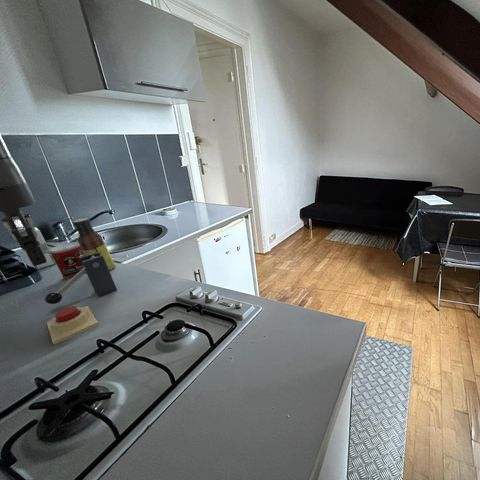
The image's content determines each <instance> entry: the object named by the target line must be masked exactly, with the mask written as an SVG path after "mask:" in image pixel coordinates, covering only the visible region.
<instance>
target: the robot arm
mask: <svg viewBox="0 0 480 480" xmlns="http://www.w3.org/2000/svg"><path fill="white" fill-rule="evenodd" d="M34 204H36V199H35V197H34V195H33V193H32V191H31V189H30V187H29V185H28V183H27V181H26V178H25V177H24V175H23V173H22V171H21V169H20V167H19V166H18V165H17V163H16V162H15V160H14V158H13V157H12V155H11V153H10V151H9V149H8V146H7V145H6V143H5V141H4V139H3V136H2V132H1V131H0V212H1V213H3V215H4V216H5V217H1V218H0V219H1V220H0V221H1V223H2V226H3V227H4V229H6V230H7V231H8V232H9V234H10V235H11V237H12V239H13V241H15V242H18V244H19V245H20V246H19V247H20V249H22V250H23V251H24V250H25V251H26V252H25V251H24V252H25V254H26V253H27V254H26V256H27V255H28V256H27V258H28V257H29V258H28V260H29V259H30V260H31V262H32V263H31V262H30V263H31V265H32V264H33V265H39V264H43V263H46V262H47V260H46V258H45V256H44V254H43V252H42V250H41V248H40V243H39V241H37V236H38V234H37V232H36V230H35V226H34V225H33V224H34V221H33V219H32V217H31V216H30V215H31V214H30V213H23V211H22V210H21V209H22V208H25V207H26V208H27V207H29V206H32V205H34ZM30 260H29V261H30ZM33 265H32V266H33Z"/></svg>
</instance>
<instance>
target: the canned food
mask: <svg viewBox="0 0 480 480" xmlns="http://www.w3.org/2000/svg"><path fill="white" fill-rule="evenodd" d="M49 250H50V253H51V255H52V257H53V259H54V261H55V262H56V264H55V265H56V267H57V269H58V270H59V272H60V274H61V276H62V278H63V279H64V280H65V281H69V280H71V279H72V278H73V277H74V276H75V275H76V274H77V273H78V272H79V271H81V270H82V269H83V268H84V267H83V265H82V262H81V260H80V258H79V257H82V256H85V255H84V253H83V251H82V248H81V246H80V244H79V243H78V241H70V242H66V243H62V244H58V245H55V246H53V247H52V248H49ZM84 275H87V273H85V274H84Z"/></svg>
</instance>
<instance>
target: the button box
mask: <svg viewBox="0 0 480 480" xmlns="http://www.w3.org/2000/svg"><path fill="white" fill-rule="evenodd" d="M77 308H78V310H79V312H80V314H79V315H78V316H77V317H75V318H74V319H71V320H69V321H66V322H62V323H59V322H58V321H57V319H56V317H55V316H53V317H52V318H51V319H50V320H48V321H46V324H47V325H46V326H47V329H48V331H49V336H50V338H51V342H52V344H53V345H58V344H59V343H61V342H64V341H66V340H68V339H70V338H72V337H75V336H77V335H80V334H82V333H83V332H86V331H88V330H90V329H92V328H95V327H97V326H99V325H100V324H99V321H98V320H97V319H96V317H95V316H94V313H93V312H92V310H91V308H90V307H89V306H88V305H86V306H84V307H83V306H78V307H77Z"/></svg>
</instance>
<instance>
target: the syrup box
mask: <svg viewBox="0 0 480 480" xmlns="http://www.w3.org/2000/svg"><path fill="white" fill-rule="evenodd" d="M34 228H35V230H36V232H37V234H38V236H37V241H39V243H40V248H41V250H42V252H43V254H44V256H45V258H46V260H47V262H46V263H43V264H39V265H33V264H32V262H31V260H30V259H29V257H28V255H27V253H26V251H25V250H23V251H24V253H25V254H26V256H27V258H28V260H29V261H30V263H31V265H32V267H33V268H34V269H35V268H36V269H38V270H41V269H44V268H48V267H51V266H54V265H57V264H56V262H55V261H54V259H53V257H52V255H51V253H50V248H49V247H48V244H47V243H46V240H45V238H44V236H43V234H42V232H41V230H40V229H39V228H37V227H36V226H34ZM36 269H35V270H36Z"/></svg>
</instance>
